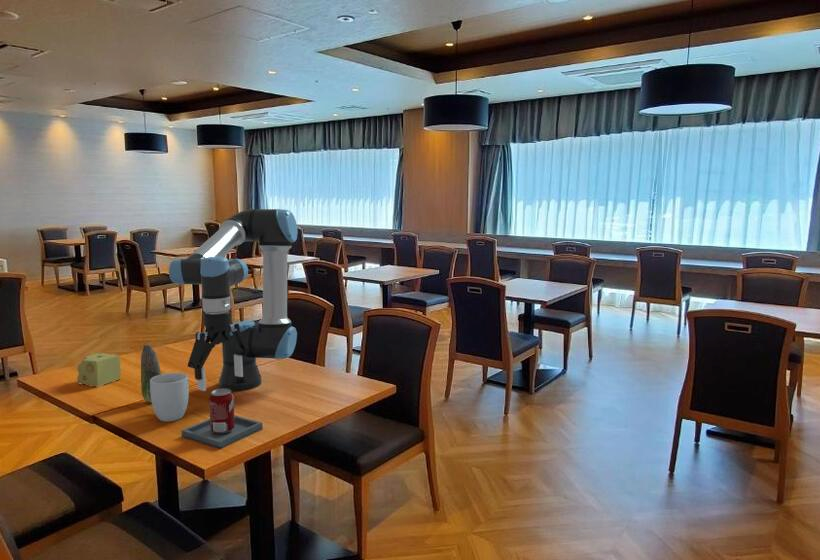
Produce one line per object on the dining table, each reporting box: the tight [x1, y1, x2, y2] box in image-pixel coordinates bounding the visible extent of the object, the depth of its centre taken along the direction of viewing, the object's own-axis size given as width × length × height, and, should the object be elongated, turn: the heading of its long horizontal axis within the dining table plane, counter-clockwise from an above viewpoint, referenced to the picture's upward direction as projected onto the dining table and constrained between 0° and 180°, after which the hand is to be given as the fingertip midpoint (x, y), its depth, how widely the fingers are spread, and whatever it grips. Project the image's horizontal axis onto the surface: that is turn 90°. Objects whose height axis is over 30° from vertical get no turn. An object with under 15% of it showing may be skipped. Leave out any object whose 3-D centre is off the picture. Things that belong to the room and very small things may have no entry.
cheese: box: [76, 352, 122, 388], centre depth 210 cm, size 10×11×10 cm
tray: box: [180, 414, 263, 450], centre depth 165 cm, size 16×16×2 cm
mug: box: [150, 372, 190, 423], centre depth 177 cm, size 15×11×13 cm
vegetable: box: [140, 344, 162, 404], centre depth 190 cm, size 6×6×20 cm
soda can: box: [208, 388, 235, 434], centre depth 165 cm, size 7×7×12 cm
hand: (221, 382), depth 164 cm, fingers open, 13 cm apart
